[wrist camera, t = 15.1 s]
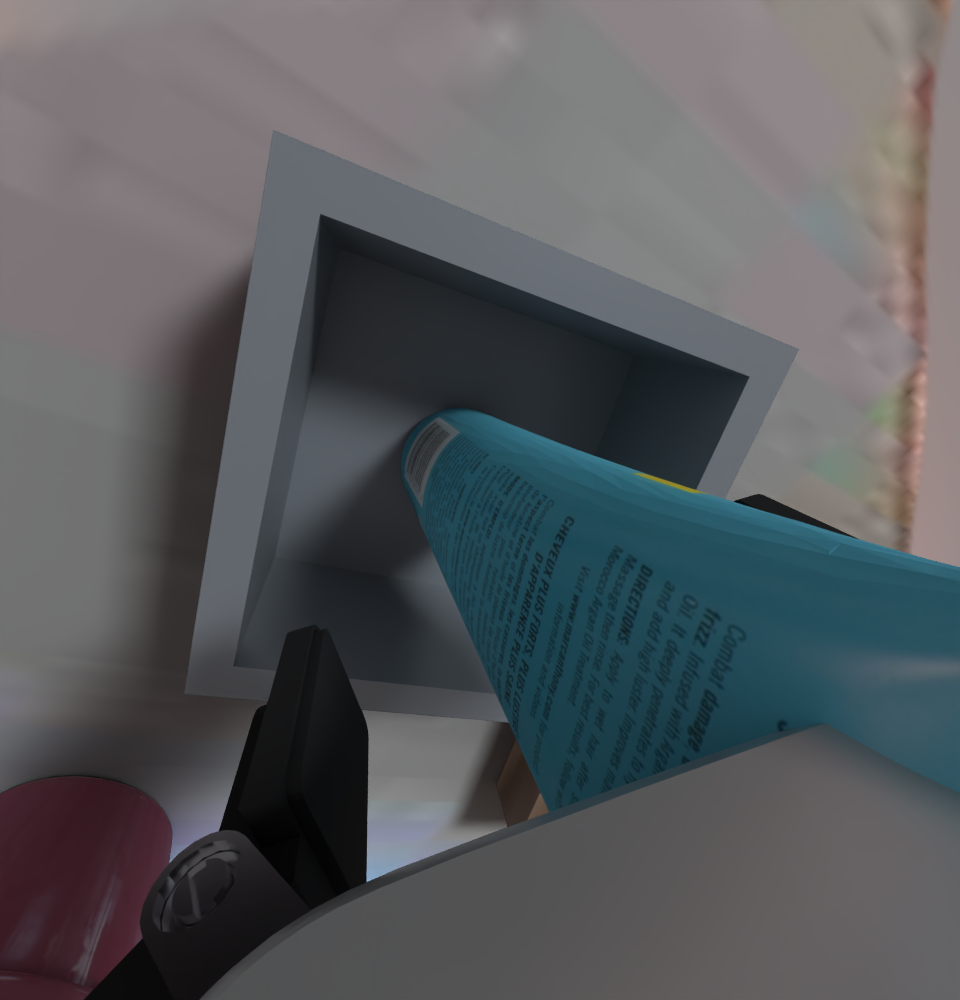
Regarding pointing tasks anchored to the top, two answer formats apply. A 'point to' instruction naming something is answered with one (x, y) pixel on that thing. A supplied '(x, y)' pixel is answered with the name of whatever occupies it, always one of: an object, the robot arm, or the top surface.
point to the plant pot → (74, 882)
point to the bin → (413, 397)
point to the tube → (674, 614)
